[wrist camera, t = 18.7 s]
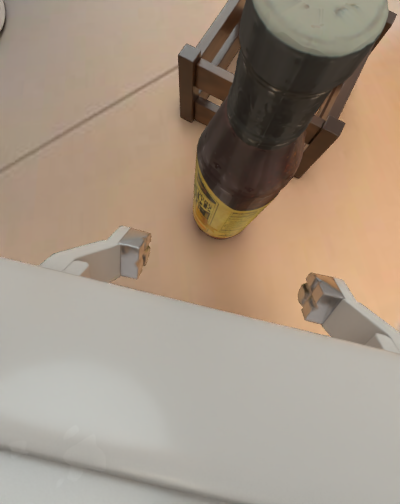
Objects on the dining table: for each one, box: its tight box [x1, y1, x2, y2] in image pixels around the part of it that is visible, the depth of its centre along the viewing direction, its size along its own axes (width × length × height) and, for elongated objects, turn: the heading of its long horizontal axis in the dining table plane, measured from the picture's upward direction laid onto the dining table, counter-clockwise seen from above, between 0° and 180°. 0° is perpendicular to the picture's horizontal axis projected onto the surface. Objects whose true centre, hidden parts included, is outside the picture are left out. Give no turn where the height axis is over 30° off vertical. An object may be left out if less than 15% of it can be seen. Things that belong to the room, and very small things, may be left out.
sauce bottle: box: [193, 0, 389, 239], centre depth 16 cm, size 6×6×20 cm
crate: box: [178, 0, 397, 178], centre depth 25 cm, size 16×16×7 cm
